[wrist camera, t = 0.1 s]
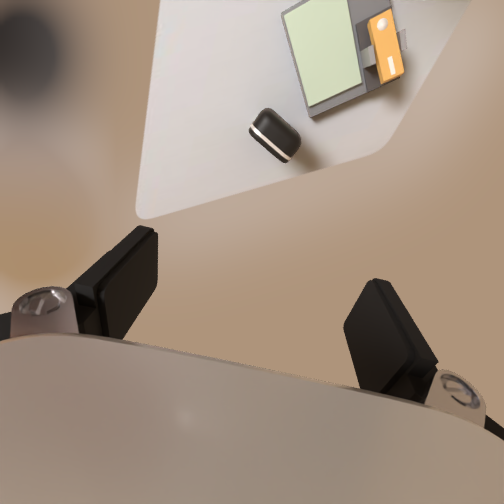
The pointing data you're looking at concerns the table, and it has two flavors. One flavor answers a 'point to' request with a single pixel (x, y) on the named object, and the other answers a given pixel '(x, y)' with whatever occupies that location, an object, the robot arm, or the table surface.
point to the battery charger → (275, 135)
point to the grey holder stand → (334, 49)
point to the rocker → (385, 46)
